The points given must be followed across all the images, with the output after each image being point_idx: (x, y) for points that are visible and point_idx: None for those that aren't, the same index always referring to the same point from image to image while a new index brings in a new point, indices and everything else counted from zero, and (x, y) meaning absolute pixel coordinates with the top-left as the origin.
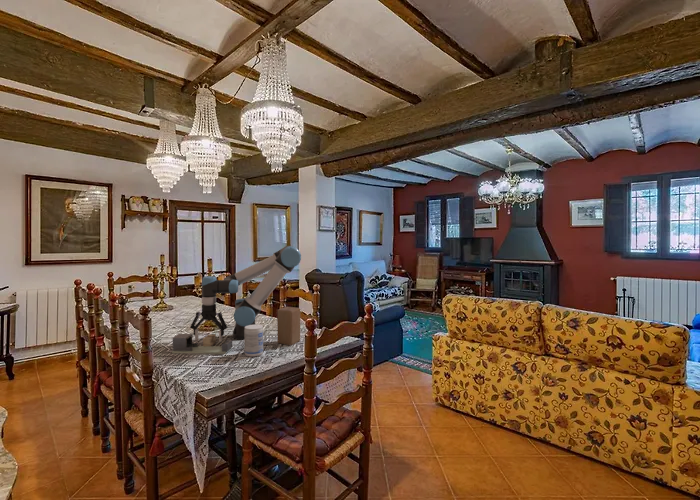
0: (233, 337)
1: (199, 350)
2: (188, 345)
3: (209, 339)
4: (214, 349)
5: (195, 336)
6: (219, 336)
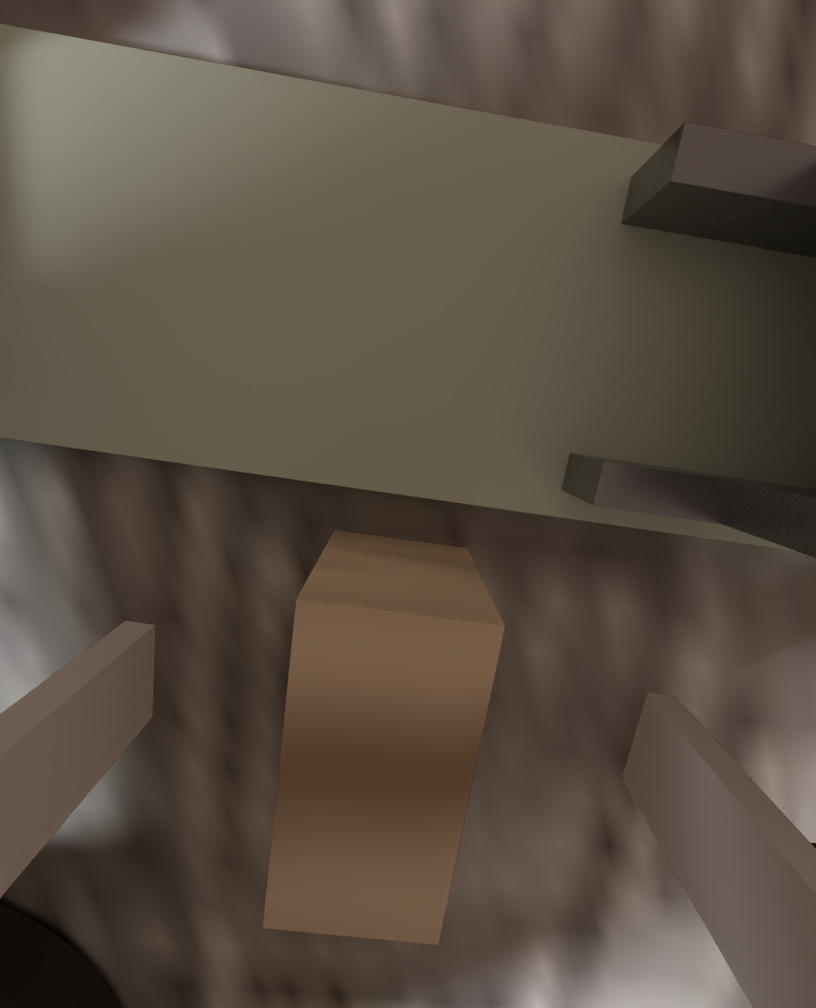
0: (81, 960)
1: (470, 207)
2: (766, 484)
3: (323, 589)
4: (154, 242)
5: (743, 782)
6: (50, 706)
